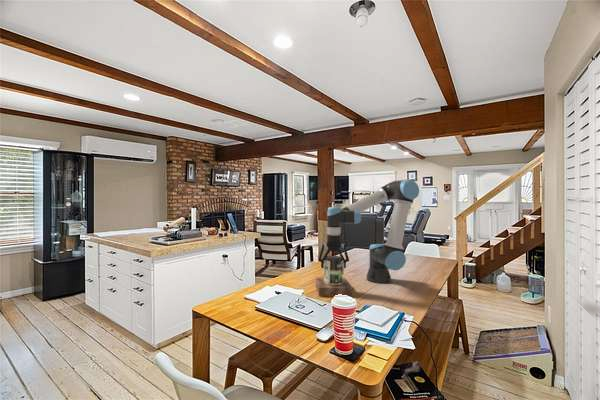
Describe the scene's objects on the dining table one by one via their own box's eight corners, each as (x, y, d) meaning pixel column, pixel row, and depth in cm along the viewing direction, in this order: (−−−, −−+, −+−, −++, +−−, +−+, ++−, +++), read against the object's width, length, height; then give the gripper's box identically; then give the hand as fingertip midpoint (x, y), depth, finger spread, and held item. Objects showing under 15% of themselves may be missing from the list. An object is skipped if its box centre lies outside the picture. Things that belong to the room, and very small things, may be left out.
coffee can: (345, 281, 160) (345, 256, 160) (337, 286, 151) (338, 260, 151) (329, 278, 166) (329, 254, 165) (320, 283, 157) (321, 257, 157)
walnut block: (345, 285, 168) (345, 278, 168) (352, 296, 150) (352, 287, 150) (315, 285, 167) (315, 278, 167) (318, 296, 149) (319, 287, 149)
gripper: (352, 233, 163) (351, 272, 163) (313, 233, 162) (312, 272, 162) (355, 235, 155) (354, 275, 155) (314, 235, 154) (313, 275, 154)
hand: (333, 273), depth 158 cm, fingers closed on coffee can, 10 cm apart
